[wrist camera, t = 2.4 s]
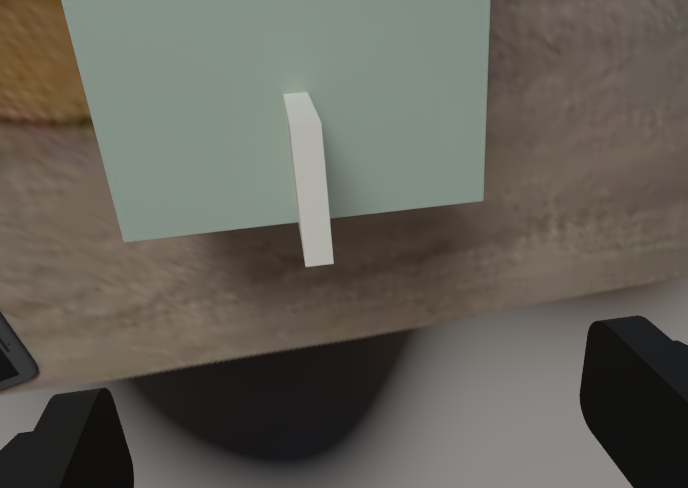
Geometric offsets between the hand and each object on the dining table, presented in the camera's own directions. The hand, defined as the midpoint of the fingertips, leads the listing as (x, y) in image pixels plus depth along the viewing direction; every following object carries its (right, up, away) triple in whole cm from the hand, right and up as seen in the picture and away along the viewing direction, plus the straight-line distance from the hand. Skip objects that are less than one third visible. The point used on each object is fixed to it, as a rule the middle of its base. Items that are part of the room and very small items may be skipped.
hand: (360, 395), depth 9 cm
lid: (-3, +11, +13) cm, 18 cm away
